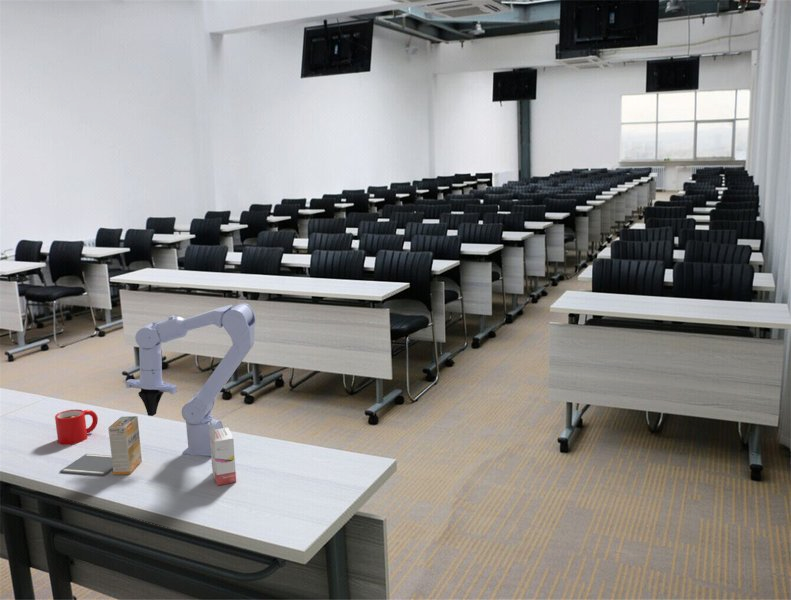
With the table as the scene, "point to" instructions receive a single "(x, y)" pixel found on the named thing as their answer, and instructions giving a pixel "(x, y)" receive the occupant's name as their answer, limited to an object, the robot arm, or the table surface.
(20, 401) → the table surface
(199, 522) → the table surface
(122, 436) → the supplement box
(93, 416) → the mug
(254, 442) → the table surface
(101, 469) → the mat
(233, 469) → the ink cartridge box
